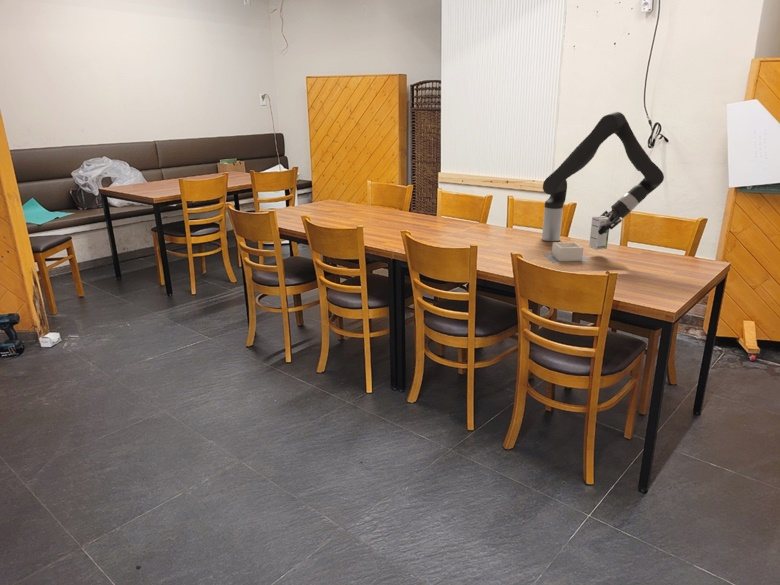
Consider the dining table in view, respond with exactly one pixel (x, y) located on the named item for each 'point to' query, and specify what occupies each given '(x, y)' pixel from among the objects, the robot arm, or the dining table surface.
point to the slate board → (564, 261)
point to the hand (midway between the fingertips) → (596, 231)
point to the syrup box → (595, 238)
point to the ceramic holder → (567, 251)
